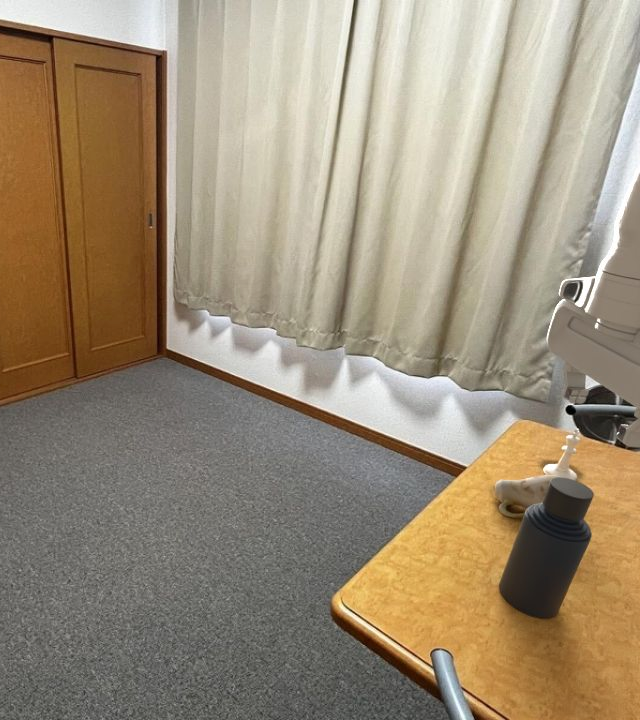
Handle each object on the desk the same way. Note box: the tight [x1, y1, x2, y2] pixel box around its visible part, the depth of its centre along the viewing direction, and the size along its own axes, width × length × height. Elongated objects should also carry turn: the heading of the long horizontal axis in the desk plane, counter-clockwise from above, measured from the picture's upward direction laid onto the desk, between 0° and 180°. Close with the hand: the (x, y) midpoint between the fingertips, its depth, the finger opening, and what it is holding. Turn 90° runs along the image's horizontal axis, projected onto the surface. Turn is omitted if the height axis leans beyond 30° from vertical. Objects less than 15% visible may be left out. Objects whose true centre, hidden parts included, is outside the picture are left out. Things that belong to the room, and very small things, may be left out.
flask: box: [498, 503, 593, 620], centre depth 61 cm, size 7×7×18 cm
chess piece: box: [543, 427, 581, 481], centre depth 87 cm, size 5×5×10 cm
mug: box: [494, 474, 561, 519], centre depth 79 cm, size 8×10×10 cm
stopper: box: [543, 477, 595, 521], centre depth 58 cm, size 4×4×3 cm
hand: (598, 420), depth 54 cm, fingers open, 8 cm apart
